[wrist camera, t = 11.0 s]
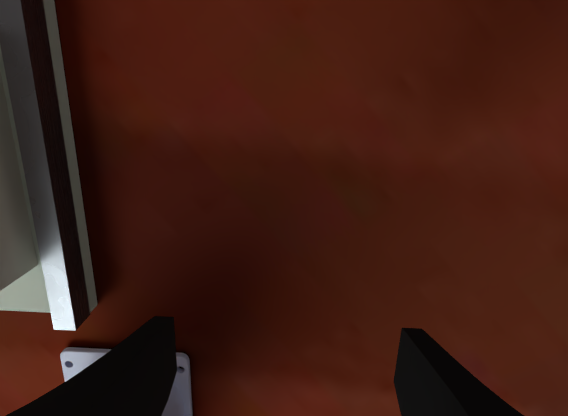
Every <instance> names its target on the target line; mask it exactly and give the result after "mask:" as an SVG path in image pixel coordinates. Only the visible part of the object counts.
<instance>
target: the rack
mask: <svg viewBox="0 0 568 416" xmlns="http://www.w3.org/2000/svg"><path fill="white" fill-rule="evenodd" d="M0 71H1V76H2V81H3V87H4V92H5V97H6V102H7V107H8V113H9V118H10V123H11V128H12V133H13V138H14V144H15V149H16V154H17V159H18V164H19V170H20V175H21V180H22V185H23V190H24V195H25V201H26V206H27V211H28V216H29V221H30V227H31V232H32V237H33V242H34V247H35V252H36V258H37V263H38V265H37V266H36V267H34V268H33V269H32V270H30V271H29V272H27V273H26V274H24V275H23V276H21V277H20V278H18V279H17V280H15V281H14V282H13V283H11V284H10V285H8V286H7V287H5V288H4V289H2V290H1V291H0V310H9V311H30V312H51V317H52V322H53V328H54V329H55V330H77V329H78V327H79V326H80V325H81V324H82V323H83V322H84V321H85V320H86V319H87V318H88V316H89V315H90V312H91V311H92V310H93V309H94V308H95V307H96V306H97V305H98V304H97V297H96V290H95V283H94V276H93V269H92V262H91V255H90V248H89V241H88V234H87V227H86V220H85V213H84V206H83V199H82V192H81V185H80V178H79V171H78V164H77V157H76V150H75V143H74V136H73V129H72V122H71V115H70V108H69V101H68V94H67V87H66V80H65V73H64V66H63V59H62V52H61V45H60V38H59V31H58V24H57V17H56V10H55V3H54V0H0Z"/></svg>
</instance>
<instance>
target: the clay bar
mask: <svg viewBox="0 0 568 416" xmlns="http://www.w3.org/2000/svg"><path fill="white" fill-rule="evenodd" d="M37 265H38V263H37V258H36V252H35V247H34V242H33V237H32V232H31V227H30V221H29V216H28V211H27V206H26V201H25V195H24V190H23V185H22V180H21V175H20V170H19V164H18V159H17V154H16V149H15V144H14V138H13V133H12V128H11V123H10V118H9V113H8V107H7V102H6V97H5V92H4V87H3V81H2V76H1V71H0V291H1V290H2V289H4V288H5V287H7V286H8V285H10V284H11V283H13V282H14V281H15V280H17V279H18V278H20V277H21V276H23V275H24V274H26V273H27V272H29V271H30V270H32V269H33V268H34V267H36V266H37Z"/></svg>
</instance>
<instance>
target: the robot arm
mask: <svg viewBox="0 0 568 416" xmlns="http://www.w3.org/2000/svg"><path fill="white" fill-rule="evenodd" d="M60 358H61V363H62V369H63V374H64V379H65V382H64V383H63V384H61V385H59V386H58V387H56V388H55V389H53V390H51V391H50V392H48V393H46V394H44V395H43V396H41V397H39V398H38V399H36V400H34V401H32V402H31V403H29V404H27V405H25V406H23V407H21V408H19V409H17V410H16V411H14V412H12V413H10V414H8V415H6V416H193V412H192V394H191V377H190V360H189V357H188V356H187V355H186V354H185V353H178V352H176V345H175V331H174V317H159V316H154V317H153V318H152V319H150V320H149V321H148V322H146V323H145V324H144V325H142V326H141V327H140V328H139V329H137V330H136V331H135V332H133V333H132V334H131V335H130V336H128V337H127V338H126V339H125V340H123V341H122V342H121V343H119V344H118V345H117V346H115V347H114V348H113V349H97V348H76V347H67V348H65V349H64V350H63V351H62V352H61V354H60ZM69 361H71V362H72V363H71V362H69ZM179 366H181V367H183V368H184V369H181V368H179ZM394 384H395V389H396V394H397V399H398V403H399V407H400V411H401V415H402V416H524V415H522V414H521V413H519V412H518V411H517V410H515V409H514V408H513V407H511V406H510V405H509V404H507V403H506V402H505V401H504V400H502V399H501V398H500V397H499V396H497V395H496V394H495V393H494V392H492V391H491V390H490V389H489V388H487V387H486V386H485V385H484V384H483V383H481V382H480V381H479V380H478V379H477V378H475V377H474V376H473V375H472V374H471V373H470V372H469V371H467V370H466V369H465V368H464V367H463V366H462V365H461V364H460V363H458V362H457V361H456V360H455V359H454V358H453V357H452V356H451V355H450V354H449V353H448V352H446V351H445V350H444V349H443V348H442V347H441V346H440V345H439V344H438V343H437V342H436V341H435V340H434V339H432V338H431V337H430V336H429V335H428V334H427V333H426V332H425V331H424V330H422V329H415V328H402V330H401V337H400V343H399V350H398V357H397V363H396V370H395V376H394Z"/></svg>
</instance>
